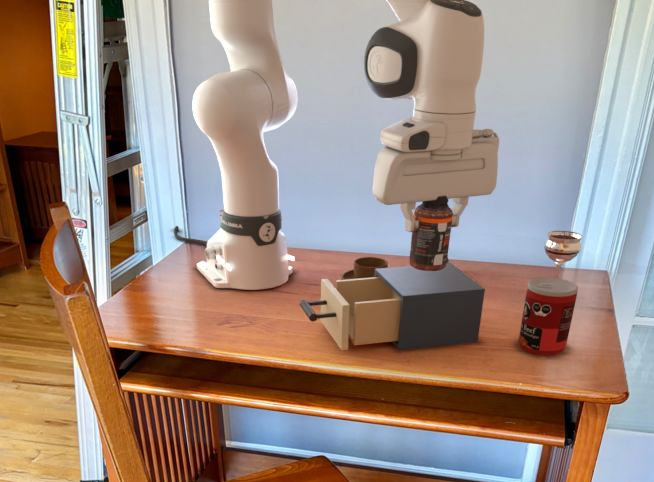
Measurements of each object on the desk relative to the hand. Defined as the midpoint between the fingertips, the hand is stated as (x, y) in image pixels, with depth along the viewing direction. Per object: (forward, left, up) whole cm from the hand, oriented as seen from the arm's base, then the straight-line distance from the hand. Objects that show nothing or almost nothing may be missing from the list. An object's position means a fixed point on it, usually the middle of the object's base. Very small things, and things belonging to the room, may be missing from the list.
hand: (431, 228), depth 114 cm
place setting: (-27, +15, -21) cm, 37 cm away
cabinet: (-6, +6, -20) cm, 22 cm away
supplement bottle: (0, 0, -6) cm, 6 cm away
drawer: (-11, -6, -19) cm, 23 cm away
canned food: (+11, +18, -21) cm, 29 cm away
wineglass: (-5, +40, -21) cm, 45 cm away
